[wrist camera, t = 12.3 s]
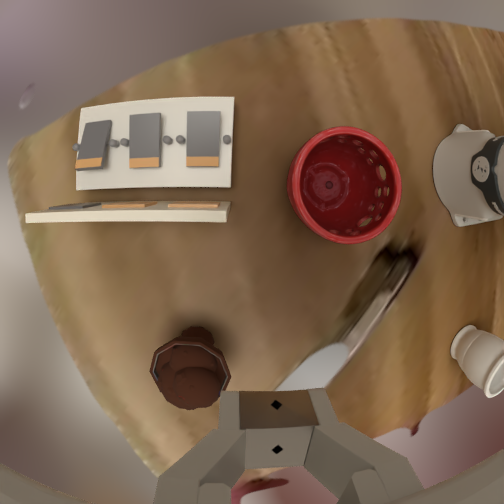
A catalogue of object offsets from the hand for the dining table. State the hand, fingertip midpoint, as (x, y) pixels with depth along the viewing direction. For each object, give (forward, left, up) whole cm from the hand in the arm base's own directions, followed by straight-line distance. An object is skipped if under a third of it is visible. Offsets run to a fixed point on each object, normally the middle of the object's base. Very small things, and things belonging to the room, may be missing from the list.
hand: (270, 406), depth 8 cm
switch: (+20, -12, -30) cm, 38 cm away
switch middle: (+13, -12, -30) cm, 35 cm away
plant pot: (-11, -7, -35) cm, 38 cm away
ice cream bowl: (+7, +18, -35) cm, 40 cm away
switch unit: (+13, -11, -35) cm, 39 cm away
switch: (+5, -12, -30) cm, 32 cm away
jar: (-48, +22, -35) cm, 64 cm away
